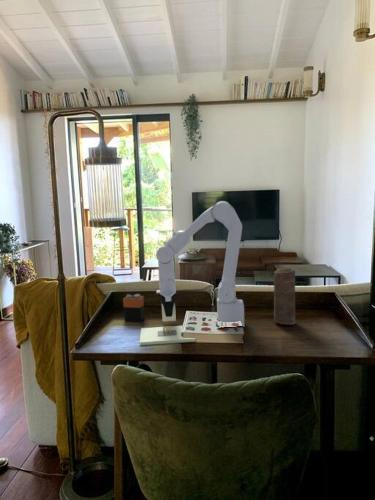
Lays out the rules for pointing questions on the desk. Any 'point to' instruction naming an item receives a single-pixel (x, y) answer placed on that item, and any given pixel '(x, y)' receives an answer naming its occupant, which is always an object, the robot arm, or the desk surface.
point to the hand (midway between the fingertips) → (168, 314)
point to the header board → (162, 335)
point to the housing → (169, 317)
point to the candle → (284, 296)
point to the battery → (133, 308)
